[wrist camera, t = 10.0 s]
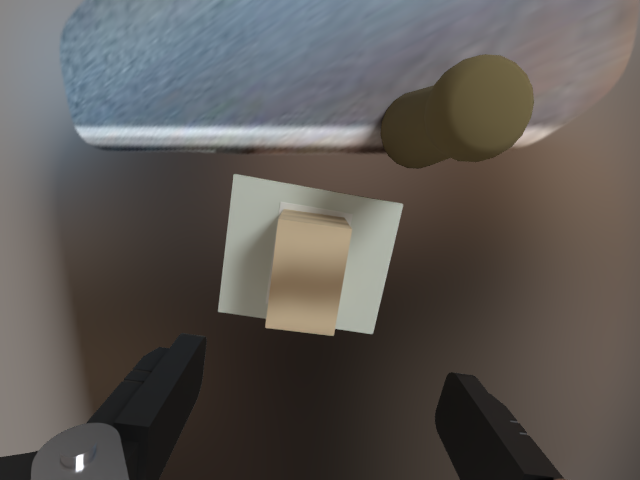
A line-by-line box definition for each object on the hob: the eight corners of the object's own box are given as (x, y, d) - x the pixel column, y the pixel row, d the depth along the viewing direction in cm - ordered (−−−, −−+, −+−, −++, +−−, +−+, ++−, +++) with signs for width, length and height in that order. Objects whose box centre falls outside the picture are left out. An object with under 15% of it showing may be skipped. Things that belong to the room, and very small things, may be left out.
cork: (372, 159, 26) (416, 155, 15) (391, 82, 25) (454, 18, 14) (441, 175, 27) (531, 182, 16) (464, 100, 25) (578, 51, 15)
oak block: (283, 208, 26) (278, 218, 21) (344, 217, 26) (352, 229, 21) (272, 299, 28) (265, 327, 23) (329, 306, 28) (333, 335, 23)
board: (235, 174, 26) (233, 174, 25) (400, 203, 27) (403, 204, 26) (220, 307, 29) (217, 312, 28) (371, 329, 30) (372, 334, 29)
